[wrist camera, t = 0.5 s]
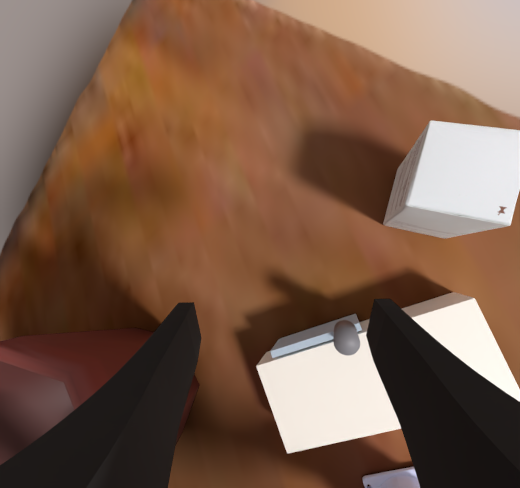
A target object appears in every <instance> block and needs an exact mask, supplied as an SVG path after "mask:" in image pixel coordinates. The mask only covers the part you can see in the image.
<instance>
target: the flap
mask: <svg viewBox="0 0 520 488" xmlns="http://www.w3.org/2000/svg"><path fill="white" fill-rule="evenodd" d="M361 330H362V328H361V326H360V323H359V320H358V318H357V315H356V314H353V315H349V316H346V317H343V318H340V319H337V320H334V321H331V322H328V323H325V324H322V325H319V326H316V327H313V328H310V329H307V330H304V331H301V332H298V333H295V334H292V335H289V336H286V337H283V338H280V339H278V341H277V342H276V344H275V345H274V346H273V348H272V349H271V351H270V353H271V355H272V358H275V357H278V356H281V355H284V354H288V353H291V352H294V351H297V350H300V349H303V348H307V347H310V346H313V345H316V344H319V343H323V342H326V341H329V340H332V339H333V343H334V346H335V348H336V350H337V351H338V352H339V353H341V354H343V355H348V356H349V355H353V354H355V353H356V352H357V351H358V350H359V348H360V339H359V336H358V333H357V332H358V331H361Z"/></svg>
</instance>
